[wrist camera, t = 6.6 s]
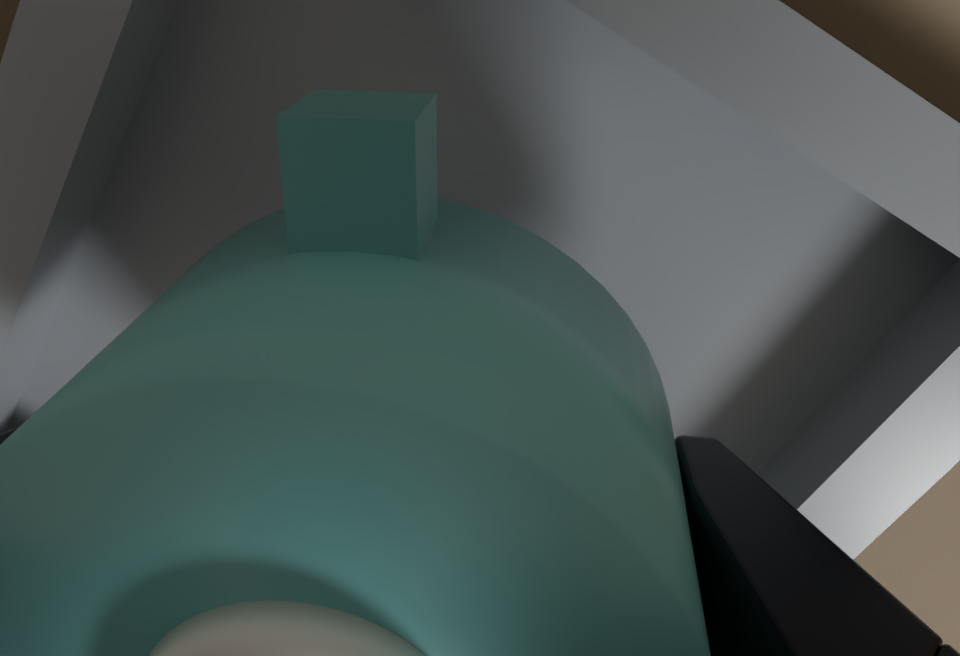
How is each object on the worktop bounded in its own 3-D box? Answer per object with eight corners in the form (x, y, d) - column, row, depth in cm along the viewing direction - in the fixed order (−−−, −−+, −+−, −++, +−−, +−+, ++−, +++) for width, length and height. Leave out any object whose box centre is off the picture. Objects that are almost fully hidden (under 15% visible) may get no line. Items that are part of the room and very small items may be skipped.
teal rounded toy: (645, 670, 10) (677, 1070, 7) (179, 628, 11) (-16, 980, 7) (719, 90, 7) (842, 263, 4) (76, 71, 8) (-333, 205, 4)
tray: (1077, 208, 10) (1169, 265, 9) (562, 732, 15) (559, 832, 13) (232, -365, 9) (153, -426, 7) (-48, 418, 13) (-134, 489, 12)
